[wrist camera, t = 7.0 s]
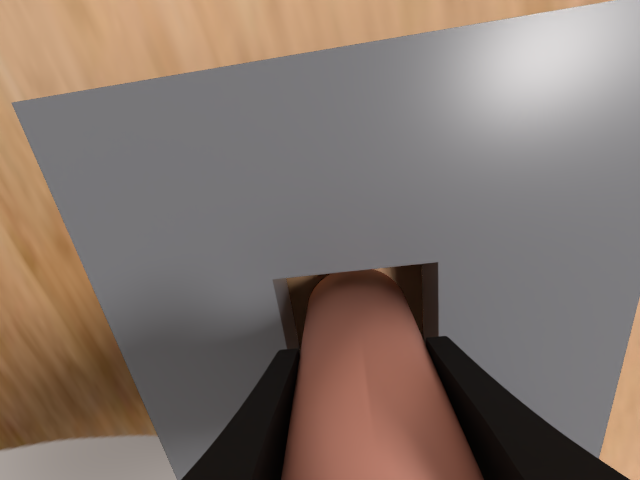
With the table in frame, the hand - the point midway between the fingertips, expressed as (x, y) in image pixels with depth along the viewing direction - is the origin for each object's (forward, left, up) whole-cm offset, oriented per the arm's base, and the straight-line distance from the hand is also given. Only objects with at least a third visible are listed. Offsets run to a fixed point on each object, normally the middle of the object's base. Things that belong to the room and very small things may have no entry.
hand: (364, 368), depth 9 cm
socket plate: (0, 0, -3) cm, 3 cm away
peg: (0, 0, -3) cm, 3 cm away
